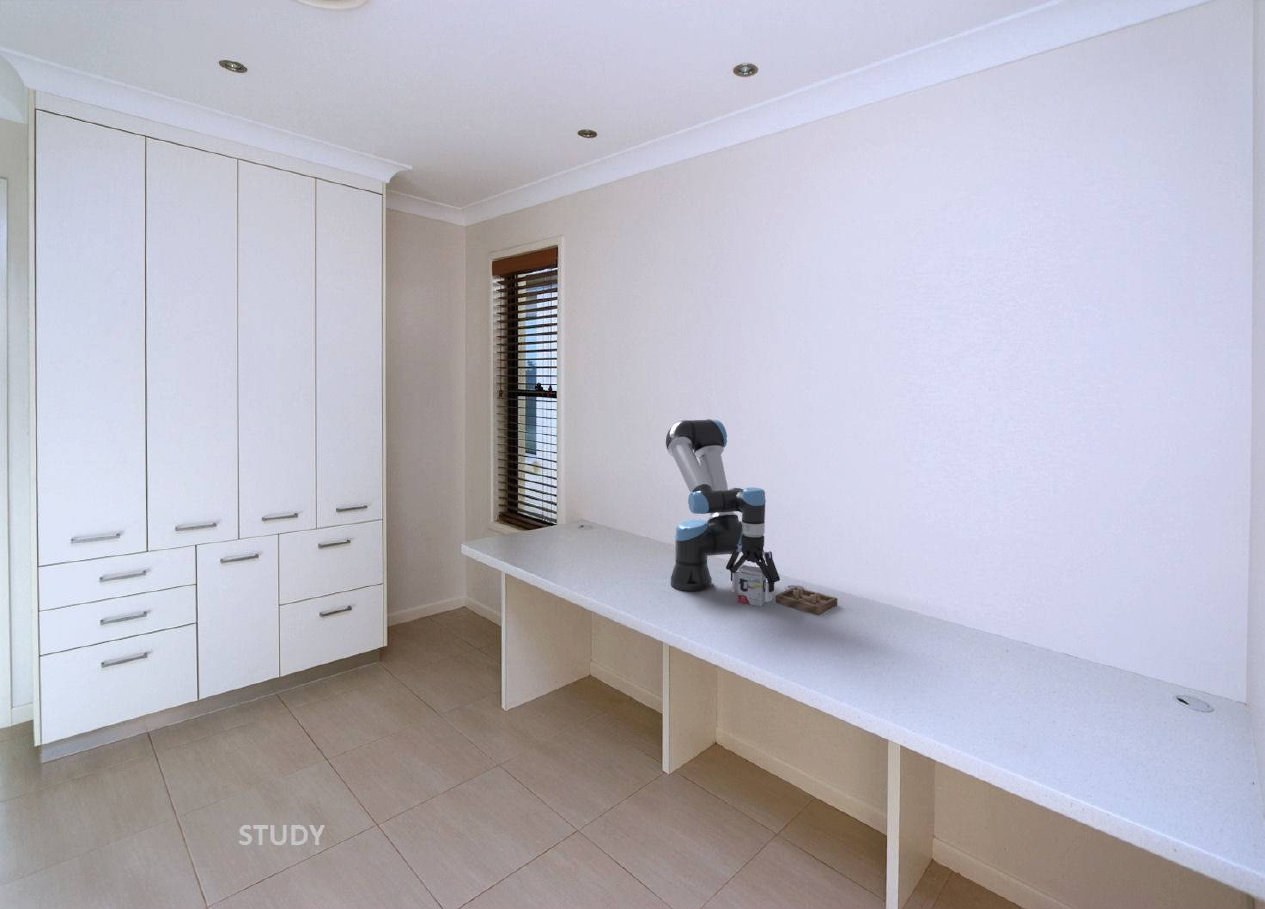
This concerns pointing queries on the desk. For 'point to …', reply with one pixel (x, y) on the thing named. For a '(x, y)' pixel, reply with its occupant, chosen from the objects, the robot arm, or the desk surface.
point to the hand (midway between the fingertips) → (751, 595)
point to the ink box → (751, 585)
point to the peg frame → (806, 600)
